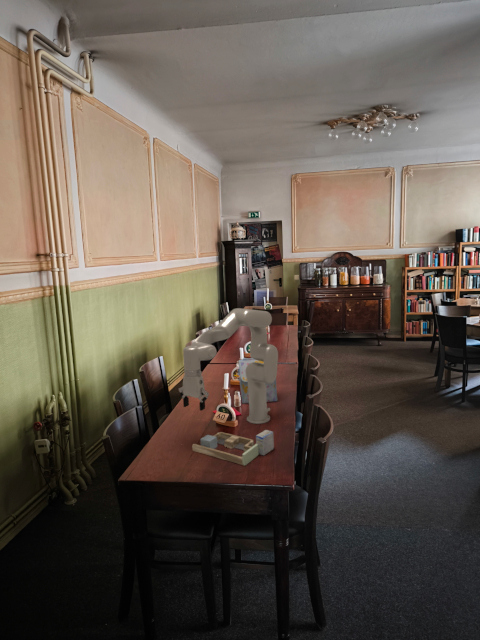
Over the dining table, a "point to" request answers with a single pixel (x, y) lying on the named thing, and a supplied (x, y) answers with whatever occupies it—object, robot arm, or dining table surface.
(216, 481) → the dining table surface
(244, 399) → the lunch bag
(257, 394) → the robot arm
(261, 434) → the medicine box
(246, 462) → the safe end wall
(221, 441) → the pads
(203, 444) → the slate block
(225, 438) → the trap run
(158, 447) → the dining table surface
